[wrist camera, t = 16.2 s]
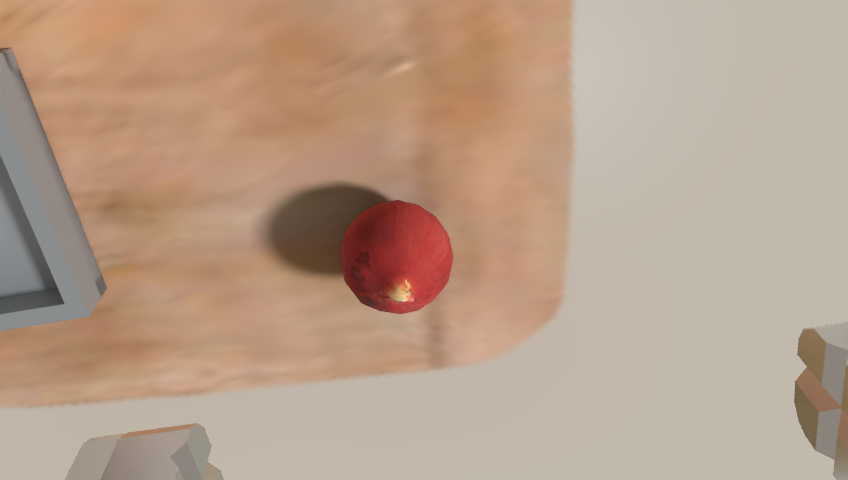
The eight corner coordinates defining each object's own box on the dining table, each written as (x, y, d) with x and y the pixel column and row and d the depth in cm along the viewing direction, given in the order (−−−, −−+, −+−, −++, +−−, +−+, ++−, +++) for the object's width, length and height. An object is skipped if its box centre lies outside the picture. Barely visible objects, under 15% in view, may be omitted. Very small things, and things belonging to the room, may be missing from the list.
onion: (380, 287, 46) (380, 369, 38) (322, 213, 43) (311, 286, 36) (465, 238, 44) (481, 313, 37) (410, 159, 42) (416, 223, 35)
